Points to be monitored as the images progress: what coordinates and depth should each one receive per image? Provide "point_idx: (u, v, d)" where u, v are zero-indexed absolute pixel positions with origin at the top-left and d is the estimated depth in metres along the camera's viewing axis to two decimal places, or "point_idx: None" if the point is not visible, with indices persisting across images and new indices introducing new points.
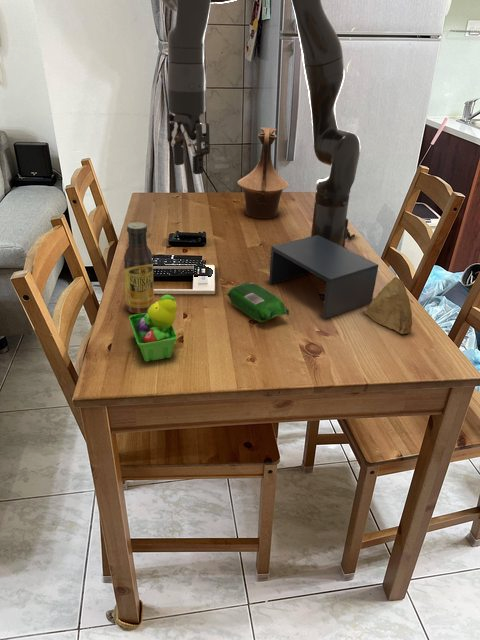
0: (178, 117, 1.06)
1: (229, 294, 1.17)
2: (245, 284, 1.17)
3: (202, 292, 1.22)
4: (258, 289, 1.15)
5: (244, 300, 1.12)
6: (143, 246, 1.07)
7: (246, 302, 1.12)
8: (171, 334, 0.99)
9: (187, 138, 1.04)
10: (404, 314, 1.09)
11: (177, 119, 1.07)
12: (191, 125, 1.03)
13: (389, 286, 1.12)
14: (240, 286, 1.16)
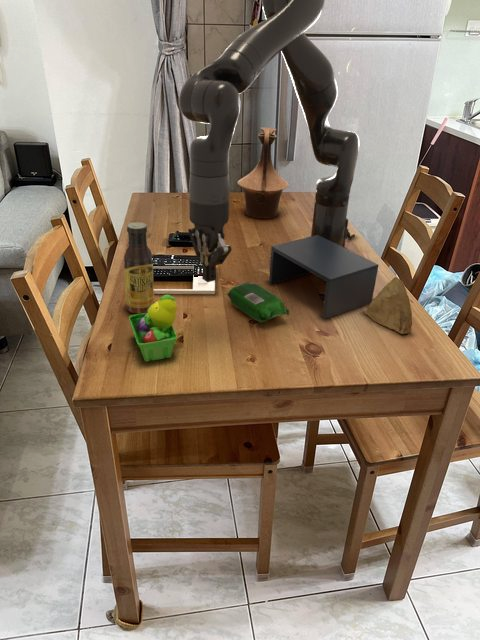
0: None
1: (229, 294, 1.17)
2: (245, 284, 1.17)
3: (202, 292, 1.22)
4: (258, 289, 1.15)
5: (244, 300, 1.12)
6: (143, 246, 1.07)
7: (246, 302, 1.12)
8: (171, 334, 0.99)
9: (205, 249, 0.98)
10: (404, 314, 1.09)
11: (198, 226, 0.99)
12: (214, 237, 0.95)
13: (389, 286, 1.12)
14: (240, 286, 1.16)
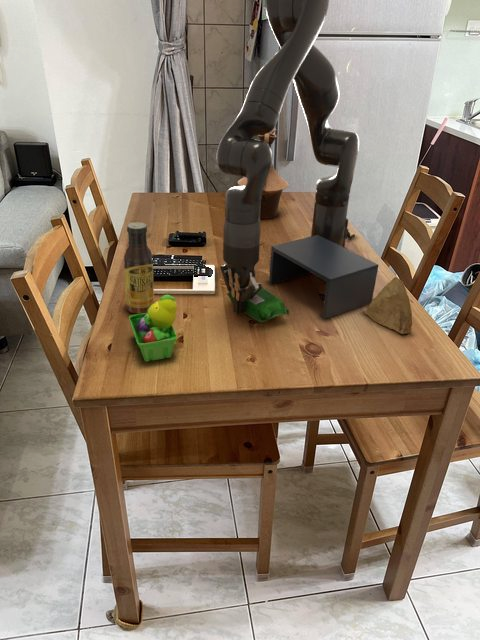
0: None
1: (229, 294, 1.17)
2: None
3: (202, 292, 1.22)
4: None
5: None
6: (143, 246, 1.07)
7: (246, 302, 1.12)
8: (171, 334, 0.99)
9: (237, 286, 1.08)
10: (404, 314, 1.09)
11: (230, 264, 1.09)
12: (246, 276, 1.05)
13: (389, 286, 1.12)
14: None
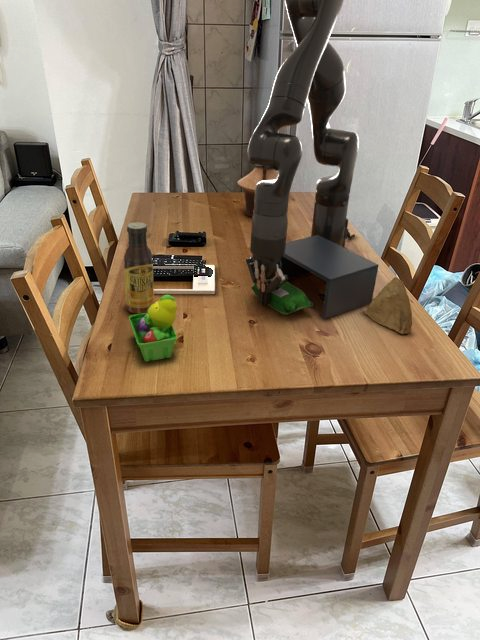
0: None
1: (253, 287, 1.20)
2: None
3: (202, 292, 1.22)
4: None
5: None
6: (143, 246, 1.07)
7: (271, 295, 1.15)
8: (171, 334, 0.99)
9: (263, 278, 1.11)
10: (404, 314, 1.09)
11: (256, 256, 1.12)
12: (273, 267, 1.08)
13: (389, 286, 1.12)
14: None
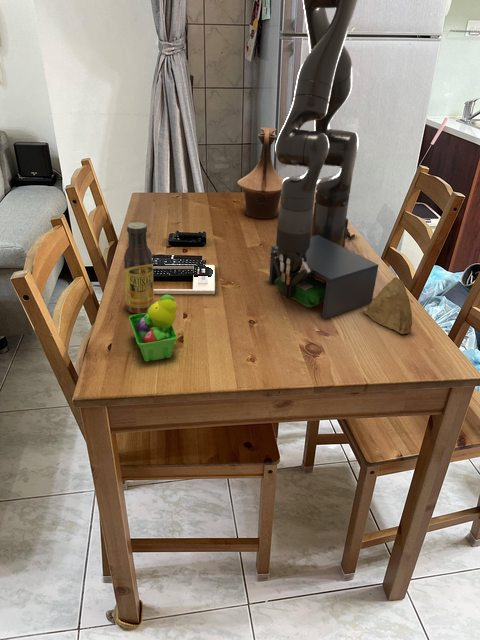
0: (283, 249, 1.15)
1: (277, 281, 1.24)
2: None
3: (202, 292, 1.22)
4: None
5: None
6: (143, 246, 1.07)
7: (295, 288, 1.18)
8: (171, 334, 0.99)
9: (288, 271, 1.14)
10: (404, 314, 1.09)
11: (281, 250, 1.15)
12: (298, 261, 1.11)
13: (389, 286, 1.12)
14: None
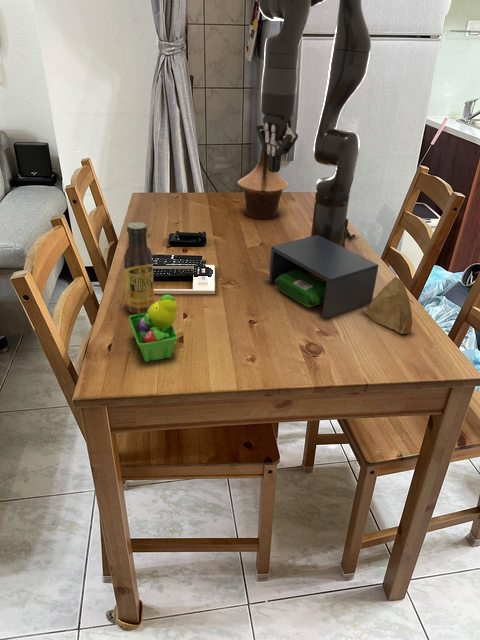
0: (268, 118, 1.13)
1: (277, 281, 1.24)
2: (293, 271, 1.23)
3: (202, 292, 1.22)
4: (305, 276, 1.22)
5: (293, 286, 1.19)
6: (143, 246, 1.07)
7: (295, 288, 1.18)
8: (171, 334, 0.99)
9: (273, 139, 1.13)
10: (404, 314, 1.09)
11: (266, 120, 1.14)
12: (283, 125, 1.10)
13: (389, 286, 1.12)
14: (288, 273, 1.23)
